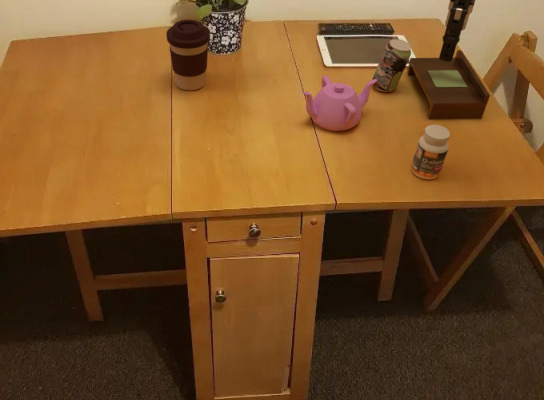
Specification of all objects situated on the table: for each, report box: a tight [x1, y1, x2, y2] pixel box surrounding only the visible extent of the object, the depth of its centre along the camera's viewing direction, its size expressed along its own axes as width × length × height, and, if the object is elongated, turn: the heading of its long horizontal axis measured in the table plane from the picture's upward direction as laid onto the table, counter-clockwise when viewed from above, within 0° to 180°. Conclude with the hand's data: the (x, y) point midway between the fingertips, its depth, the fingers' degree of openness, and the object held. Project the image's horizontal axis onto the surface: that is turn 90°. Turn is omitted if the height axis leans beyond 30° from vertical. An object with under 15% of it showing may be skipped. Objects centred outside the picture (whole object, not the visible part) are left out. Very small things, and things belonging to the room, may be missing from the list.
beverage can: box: [371, 38, 412, 93], centre depth 136 cm, size 6×7×12 cm
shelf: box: [406, 49, 491, 120], centre depth 136 cm, size 20×12×6 cm, turn 1°
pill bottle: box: [410, 124, 451, 180], centre depth 114 cm, size 6×6×10 cm
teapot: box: [301, 74, 377, 132], centre depth 128 cm, size 12×14×9 cm
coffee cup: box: [165, 19, 211, 91], centre depth 137 cm, size 10×10×15 cm
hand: (448, 49), depth 105 cm, fingers open, 8 cm apart
